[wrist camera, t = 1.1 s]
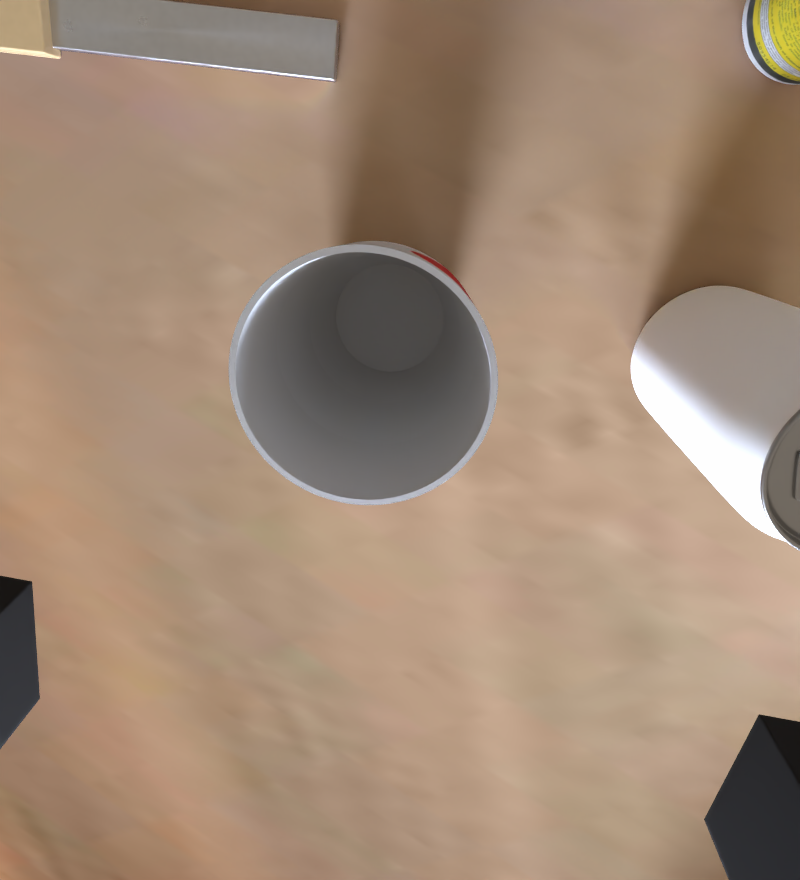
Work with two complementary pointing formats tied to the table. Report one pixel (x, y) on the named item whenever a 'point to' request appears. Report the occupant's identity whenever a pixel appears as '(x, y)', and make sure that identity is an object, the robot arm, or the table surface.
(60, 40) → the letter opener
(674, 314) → the can
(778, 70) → the supplement bottle
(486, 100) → the table surface
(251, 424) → the cup
